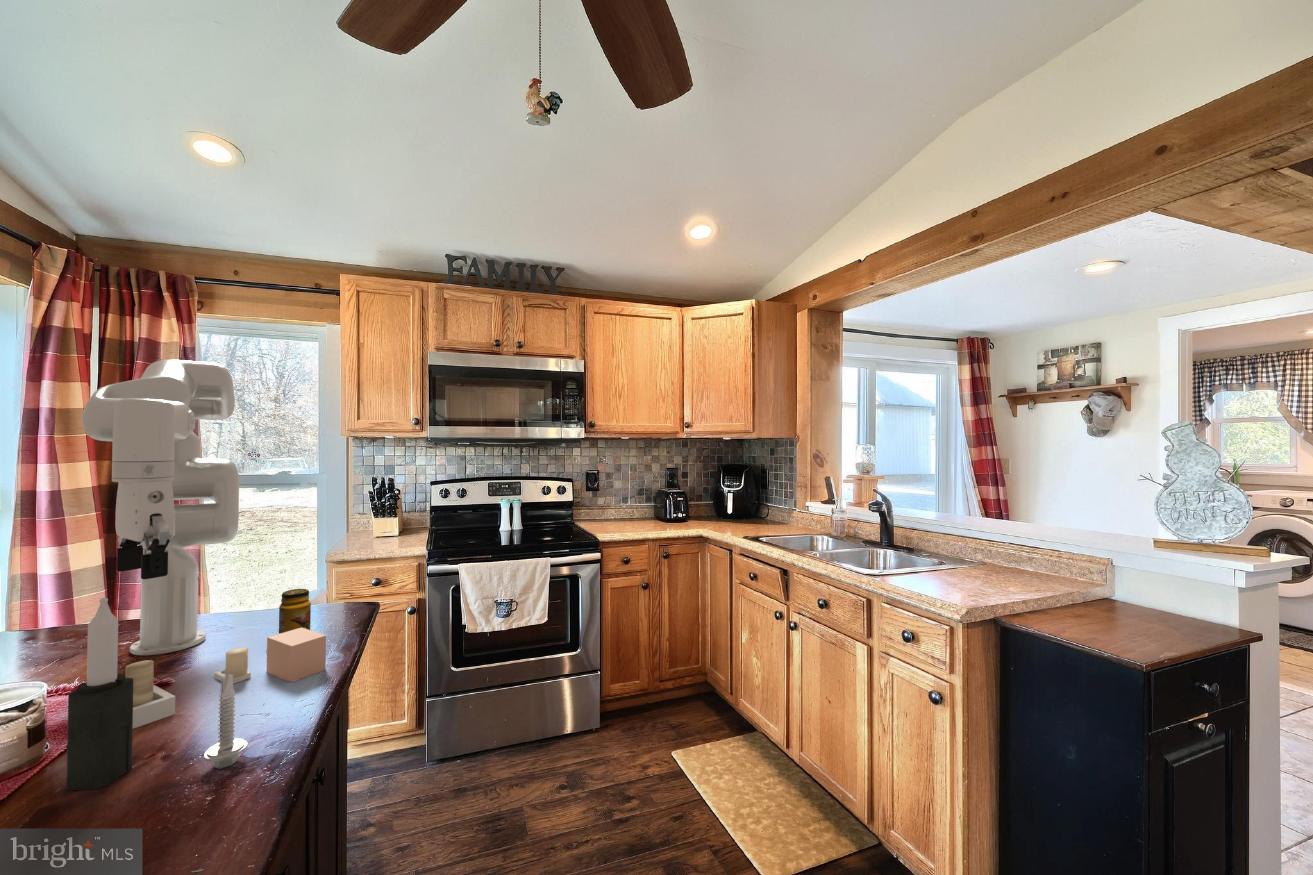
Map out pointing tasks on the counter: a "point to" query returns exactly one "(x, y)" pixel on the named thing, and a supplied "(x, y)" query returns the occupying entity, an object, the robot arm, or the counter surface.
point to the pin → (141, 681)
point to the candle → (100, 711)
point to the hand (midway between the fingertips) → (141, 573)
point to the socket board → (154, 708)
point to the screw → (226, 730)
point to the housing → (296, 654)
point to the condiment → (294, 610)
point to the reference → (235, 665)
